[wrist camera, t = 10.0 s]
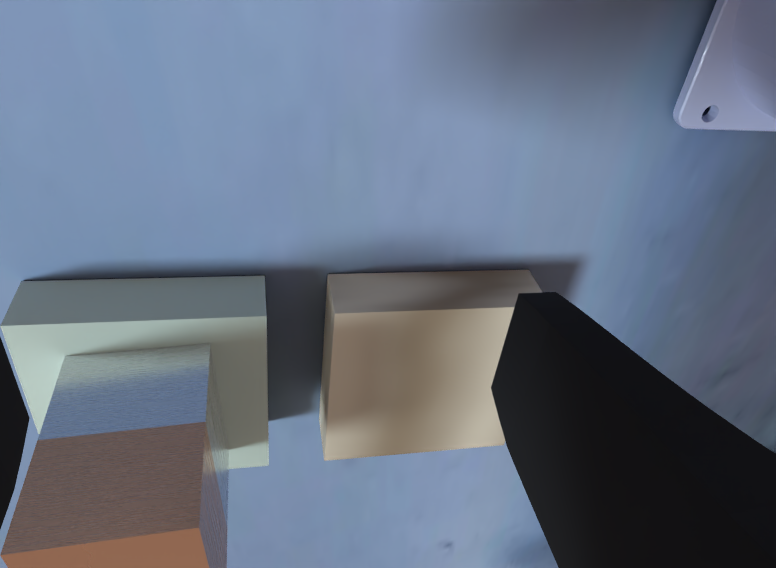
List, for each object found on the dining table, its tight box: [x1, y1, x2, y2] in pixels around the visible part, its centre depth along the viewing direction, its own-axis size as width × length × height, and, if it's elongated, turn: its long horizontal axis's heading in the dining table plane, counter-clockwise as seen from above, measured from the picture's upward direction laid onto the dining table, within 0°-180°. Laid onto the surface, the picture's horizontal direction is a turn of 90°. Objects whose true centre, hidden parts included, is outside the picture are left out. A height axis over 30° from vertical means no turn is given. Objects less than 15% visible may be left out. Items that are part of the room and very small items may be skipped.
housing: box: [0, 343, 229, 568], centre depth 17 cm, size 5×4×6 cm
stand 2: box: [319, 270, 543, 461], centre depth 22 cm, size 7×7×2 cm
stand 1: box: [1, 276, 269, 469], centre depth 20 cm, size 7×7×2 cm
